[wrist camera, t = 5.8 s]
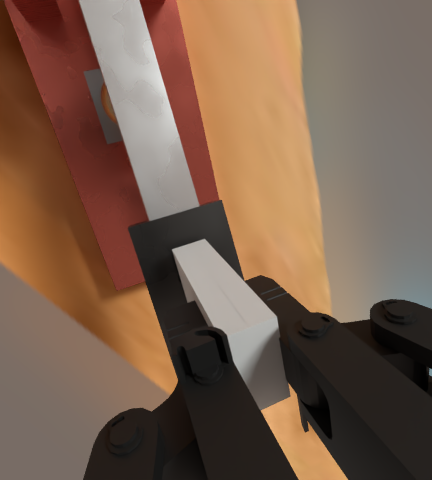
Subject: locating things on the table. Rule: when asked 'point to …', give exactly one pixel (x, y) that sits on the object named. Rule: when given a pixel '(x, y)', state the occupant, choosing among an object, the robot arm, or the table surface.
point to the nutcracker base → (82, 128)
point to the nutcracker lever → (153, 153)
